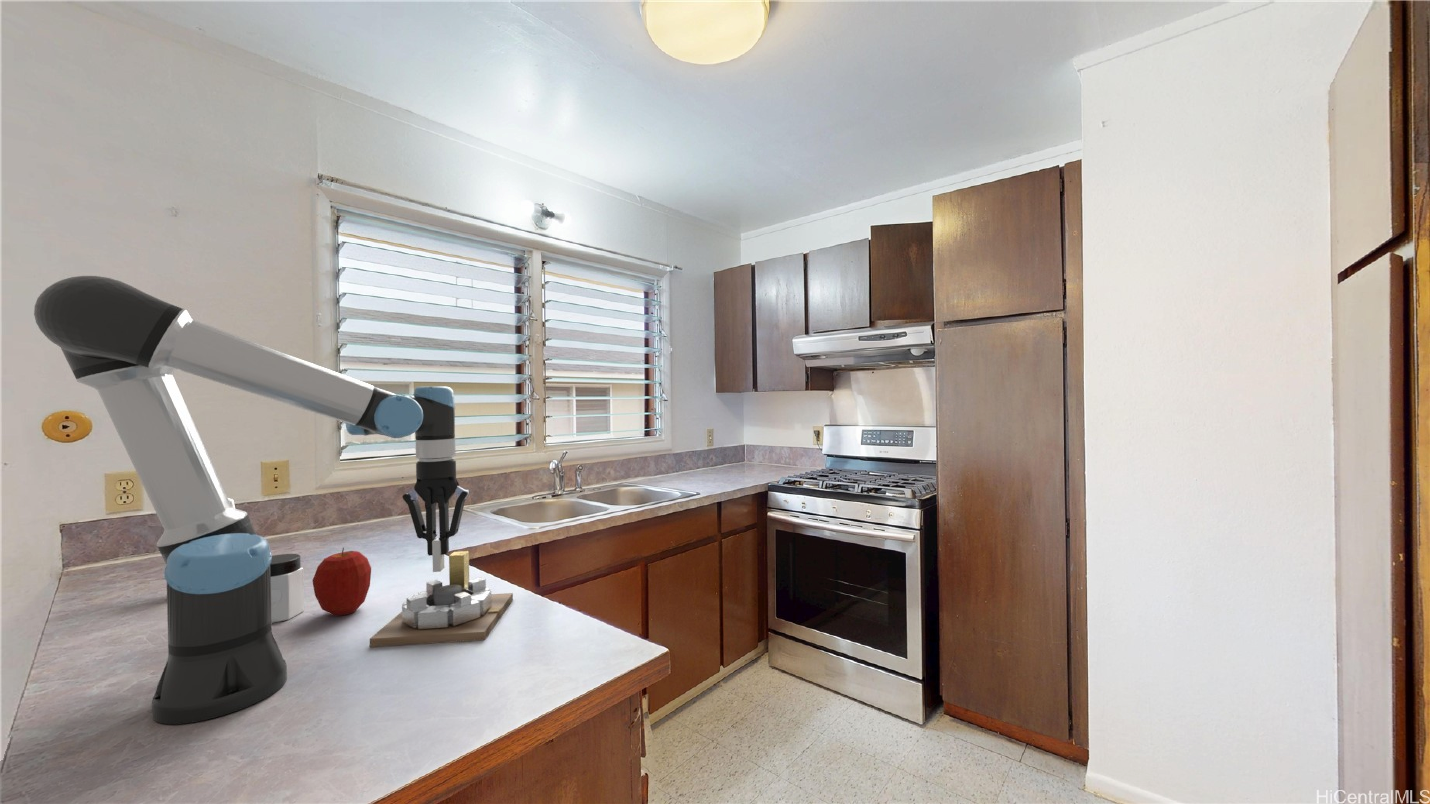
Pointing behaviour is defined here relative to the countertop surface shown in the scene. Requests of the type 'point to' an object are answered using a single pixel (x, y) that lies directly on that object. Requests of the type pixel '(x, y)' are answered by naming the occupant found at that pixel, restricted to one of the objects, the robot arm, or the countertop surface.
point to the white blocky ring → (465, 605)
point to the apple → (342, 582)
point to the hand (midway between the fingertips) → (438, 569)
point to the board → (466, 631)
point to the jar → (286, 587)
